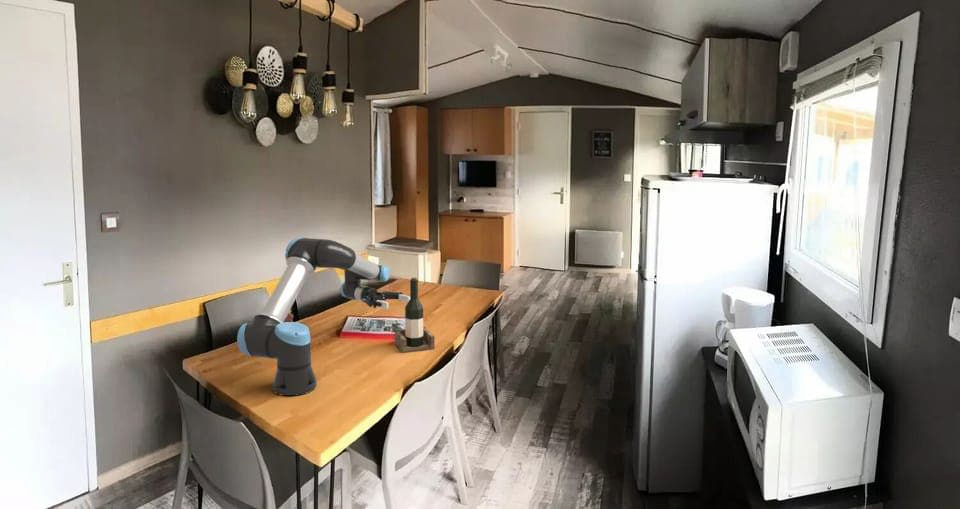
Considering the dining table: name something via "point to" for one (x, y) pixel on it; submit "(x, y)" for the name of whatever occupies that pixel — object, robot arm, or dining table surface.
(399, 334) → the walnut rest
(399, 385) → the dining table surface
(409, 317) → the wine bottle
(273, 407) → the dining table surface
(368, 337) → the dining table surface
